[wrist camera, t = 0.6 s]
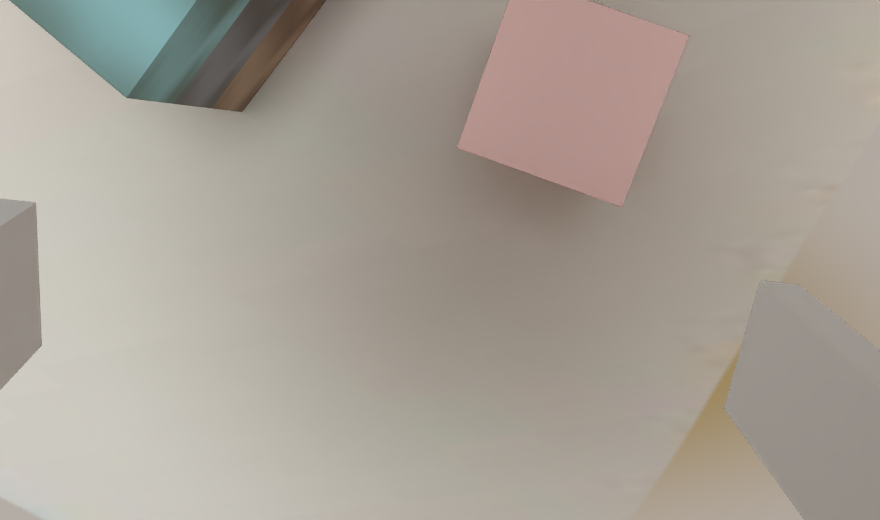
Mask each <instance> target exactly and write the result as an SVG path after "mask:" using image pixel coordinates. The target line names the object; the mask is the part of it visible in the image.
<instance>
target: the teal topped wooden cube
mask: <svg viewBox="0 0 880 520" xmlns="http://www.w3.org/2000/svg"><path fill="white" fill-rule="evenodd" d="M10 1H11V2H12V3H13V4H15V5H16V6H17V7H18V8H19V9H21V10H22V11H23V12H24V13H25V14H27V15H28V16H29V17H30V18H31V19H33V20H34V21H35V22H36V23H37V24H39V25H40V26H41V27H42V28H43V29H44V30H46V31H47V32H48V33H49V34H50V35H52V36H53V37H54V38H55V39H56V40H58V41H59V42H60V43H61V44H62V45H64V46H65V47H66V48H67V49H68V50H70V51H71V52H72V53H73V54H74V55H76V56H77V57H78V58H79V59H80V60H82V61H83V62H84V63H85V64H86V65H88V66H89V67H90V68H91V69H92V70H94V71H95V72H96V73H97V74H98V75H100V76H101V77H102V78H103V79H104V80H106V81H107V82H108V83H109V84H110V85H112V86H113V87H114V88H115V89H116V90H118V91H119V92H120V93H121V94H122V95H124V96H125V97H126V98H131V99H140V100H148V101H156V102H165V103H173V104H181V105H189V106H198V107H206V108H214V109H222V110H231V111H239V112H242V111H243V110H244V108H245V107H246V106H247V104H248V103H249V102H250V101H251V99H252V98H253V97H254V95H255V94H256V93H257V91H258V90H259V89H260V87H261V86H262V85H263V83H264V82H265V81H266V79H267V78H268V77H269V75H270V74H271V73H272V71H273V70H274V69H275V67H276V66H277V65H278V63H279V62H280V61H281V59H282V58H283V57H284V55H285V54H286V53H287V51H288V50H289V49H290V47H291V46H292V45H293V43H294V42H295V41H296V39H297V38H298V37H299V35H300V34H301V33H302V31H303V30H304V29H305V27H306V26H307V25H308V23H309V22H310V21H311V19H312V18H313V17H314V16H315V14H316V13H317V12H318V10H319V9H320V8H321V6H322V5H323V4H324V2H325V1H326V0H10Z"/></svg>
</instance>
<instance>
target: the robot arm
mask: <svg viewBox="0 0 880 520" xmlns="http://www.w3.org/2000/svg"><path fill="white" fill-rule="evenodd" d="M41 346H42V337H41V313H40V289H39V265H38V241H37V216H36V203H35V202H26V201H17V200H7V199H0V390H1V389H2V388H3V387H4V385H5V384H6V383H7V382H8V381H9V380H10V379H11V378H12V377H13V376H14V375H15V374H16V373H17V371H18V370H19V369H20V368H21V367H22V366H23V365H24V364H25V363H26V362H27V361H28V360H29V359H30V357H31V356H32V355H33V354H34V353H35V352H36V351H37V350H38V349H39V348H40V347H41ZM724 409H725V411H726V412H727V413H728V415H729V416H730V418H731V419H732V420H733V422H734V423H735V424H736V426H737V427H738V429H739V430H740V431H741V433H742V434H743V435H744V437H745V438H746V440H747V441H748V443H749V444H750V445H751V447H752V448H753V449H754V451H755V452H756V453H757V455H758V456H759V458H760V459H761V460H762V462H763V463H764V465H765V466H766V467H767V469H768V470H769V471H770V473H771V474H772V476H773V477H774V479H775V480H776V481H777V483H778V484H779V485H780V487H781V488H782V490H783V491H784V492H785V494H786V495H787V497H788V498H789V499H790V500H791V502H792V503H793V505H794V506H795V508H796V509H797V510H798V512H799V513H800V515H801V516H802V517H803V519H804V520H880V350H879V349H878V348H876V347H875V346H874V345H873V344H871V343H870V342H869V341H868V340H867V339H865V338H864V337H863V336H862V335H860V334H859V333H858V332H857V331H856V330H854V329H853V328H852V327H851V326H849V325H848V324H847V323H846V322H844V321H843V320H842V319H841V318H839V317H838V316H837V315H836V314H835V313H833V312H832V311H831V310H830V309H828V308H827V307H826V306H825V305H824V304H822V303H821V302H820V301H819V300H817V299H816V298H815V297H814V296H812V295H811V294H810V293H809V292H808V291H806V290H805V289H804V288H803V287H801V286H800V285H798V284H789V283H780V282H770V281H761V280H760V283H759V286H758V290H757V293H756V297H755V300H754V304H753V308H752V311H751V315H750V318H749V322H748V325H747V329H746V332H745V336H744V339H743V343H742V346H741V350H740V353H739V357H738V360H737V364H736V368H735V371H734V374H733V378H732V382H731V385H730V389H729V392H728V396H727V399H726V403H725V406H724Z"/></svg>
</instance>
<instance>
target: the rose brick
mask: <svg viewBox="0 0 880 520" xmlns="http://www.w3.org/2000/svg"><path fill="white" fill-rule="evenodd" d="M688 38H689V35H686V34H683V33H680V32H677V31H675V30H672V29H669V28H666V27H663V26H660V25H657V24H654V23H652V22H649V21H646V20H643V19H640V18H637V17H634V16H631V15H629V14H626V13H623V12H620V11H617V10H614V9H611V8H608V7H606V6H603V5H600V4H597V3H594V2H591V1H588V0H509V2H508V4H507V7H506V10H505V13H504V16H503V19H502V21H501V24H500V27H499V30H498V33H497V36H496V38H495V41H494V44H493V47H492V50H491V53H490V55H489V58H488V61H487V64H486V67H485V70H484V72H483V75H482V78H481V81H480V84H479V86H478V89H477V92H476V95H475V98H474V101H473V103H472V106H471V109H470V112H469V115H468V118H467V120H466V123H465V126H464V129H463V132H462V135H461V137H460V140H459V143H458V146H457V148H459V149H462V150H465V151H468V152H470V153H473V154H476V155H479V156H481V157H484V158H487V159H490V160H493V161H495V162H498V163H501V164H504V165H506V166H509V167H512V168H515V169H518V170H520V171H523V172H526V173H529V174H531V175H534V176H537V177H540V178H543V179H545V180H548V181H551V182H554V183H556V184H559V185H562V186H565V187H568V188H570V189H573V190H576V191H579V192H581V193H584V194H587V195H590V196H592V197H595V198H598V199H601V200H604V201H606V202H609V203H612V204H615V205H617V206H620V207H622V206H623V203H624V201H625V198H626V196H627V193H628V191H629V188H630V186H631V183H632V181H633V178H634V176H635V173H636V170H637V168H638V165H639V163H640V160H641V158H642V155H643V153H644V150H645V148H646V145H647V143H648V140H649V137H650V135H651V132H652V130H653V127H654V125H655V122H656V120H657V117H658V115H659V112H660V110H661V107H662V104H663V102H664V99H665V97H666V94H667V92H668V89H669V87H670V84H671V82H672V79H673V77H674V74H675V71H676V69H677V66H678V64H679V61H680V59H681V56H682V54H683V51H684V49H685V46H686V44H687V41H688Z"/></svg>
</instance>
